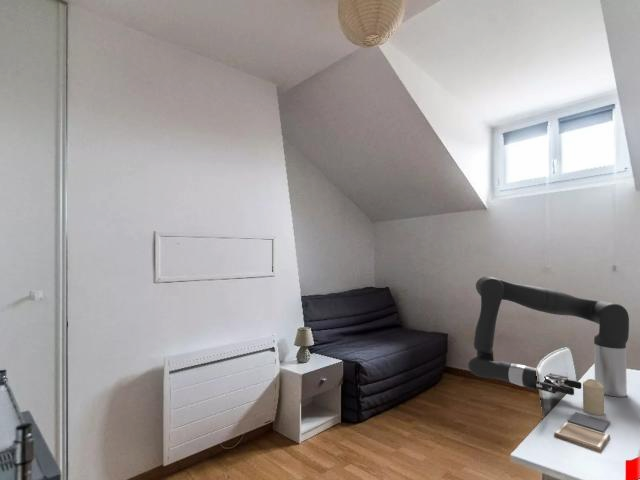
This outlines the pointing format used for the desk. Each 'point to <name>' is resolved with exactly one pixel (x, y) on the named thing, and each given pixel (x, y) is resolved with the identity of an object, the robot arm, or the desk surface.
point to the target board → (582, 436)
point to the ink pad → (589, 422)
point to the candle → (593, 397)
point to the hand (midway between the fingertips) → (577, 388)
